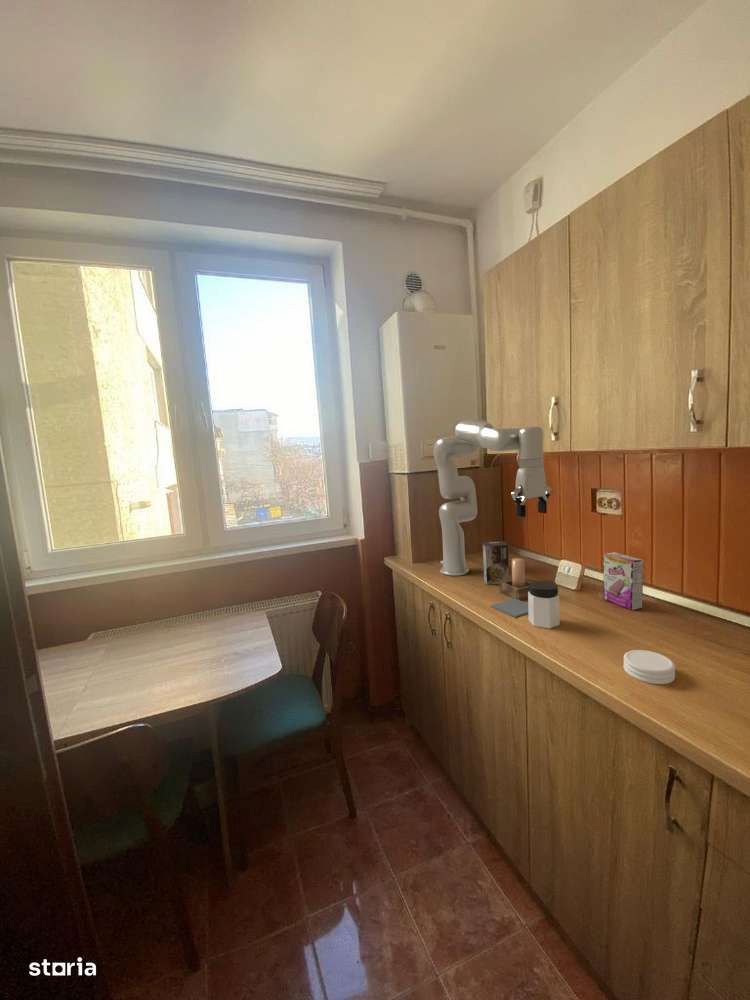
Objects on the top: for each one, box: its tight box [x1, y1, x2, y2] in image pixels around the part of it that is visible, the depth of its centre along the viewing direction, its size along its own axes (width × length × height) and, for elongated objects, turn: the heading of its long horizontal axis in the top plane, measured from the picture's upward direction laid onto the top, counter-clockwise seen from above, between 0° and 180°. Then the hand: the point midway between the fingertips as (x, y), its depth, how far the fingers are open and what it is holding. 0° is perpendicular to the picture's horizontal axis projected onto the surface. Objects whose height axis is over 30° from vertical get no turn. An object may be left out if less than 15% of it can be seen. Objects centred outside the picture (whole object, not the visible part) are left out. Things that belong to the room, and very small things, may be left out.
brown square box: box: [499, 579, 533, 601], centre depth 149 cm, size 9×9×4 cm
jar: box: [527, 580, 561, 630], centre depth 123 cm, size 9×8×12 cm
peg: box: [511, 557, 526, 588], centre depth 148 cm, size 4×4×13 cm
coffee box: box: [482, 541, 510, 585], centre depth 163 cm, size 9×6×16 cm
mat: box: [490, 598, 529, 618], centre depth 136 cm, size 11×11×1 cm
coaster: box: [623, 649, 676, 685], centre depth 94 cm, size 10×10×4 cm
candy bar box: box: [602, 551, 644, 611], centre depth 133 cm, size 11×5×16 cm, turn 18°
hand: (532, 514), depth 137 cm, fingers open, 9 cm apart
